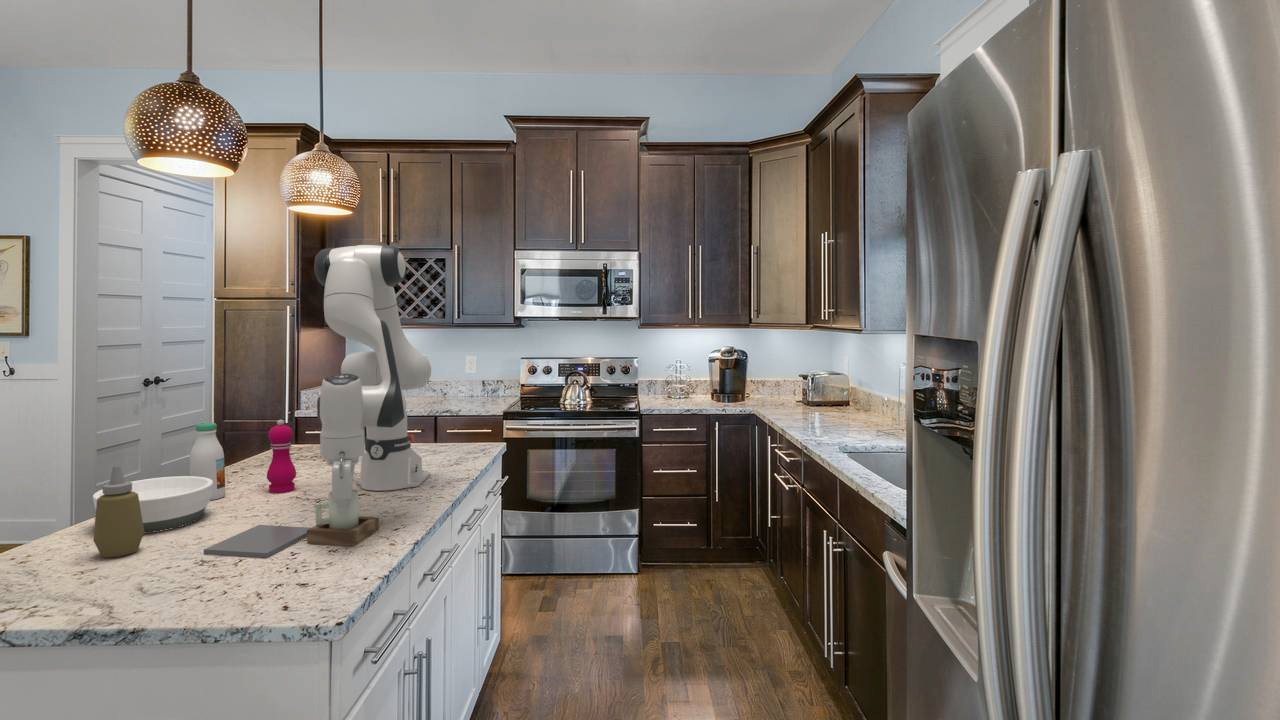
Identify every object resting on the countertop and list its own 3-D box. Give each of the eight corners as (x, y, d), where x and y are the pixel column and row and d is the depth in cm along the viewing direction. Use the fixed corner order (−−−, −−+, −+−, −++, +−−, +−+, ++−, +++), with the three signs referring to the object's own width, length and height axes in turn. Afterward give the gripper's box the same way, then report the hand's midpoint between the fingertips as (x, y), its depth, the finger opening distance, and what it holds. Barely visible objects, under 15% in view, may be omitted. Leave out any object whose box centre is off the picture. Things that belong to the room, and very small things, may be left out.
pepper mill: (287, 494, 175) (285, 421, 174) (261, 493, 175) (259, 421, 174) (301, 487, 182) (300, 417, 181) (276, 486, 182) (275, 417, 181)
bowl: (71, 542, 136) (70, 504, 136) (123, 511, 158) (122, 478, 157) (193, 533, 143) (192, 497, 142) (227, 505, 164) (226, 473, 164)
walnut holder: (336, 528, 147) (335, 515, 147) (378, 530, 146) (378, 517, 146) (307, 543, 137) (306, 530, 137) (352, 546, 136) (352, 532, 136)
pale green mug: (359, 531, 145) (358, 488, 145) (358, 539, 140) (358, 494, 139) (317, 535, 142) (316, 491, 142) (315, 544, 137) (314, 498, 136)
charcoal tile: (259, 528, 146) (259, 524, 146) (316, 532, 144) (316, 527, 144) (203, 554, 130) (203, 549, 130) (266, 558, 129) (266, 553, 129)
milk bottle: (208, 502, 166) (205, 426, 165) (183, 500, 168) (180, 425, 166) (232, 495, 174) (230, 422, 172) (208, 493, 175) (206, 421, 174)
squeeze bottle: (102, 549, 132) (99, 463, 131) (150, 544, 136) (147, 460, 134) (87, 563, 125) (83, 472, 124) (137, 557, 128) (134, 469, 127)
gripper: (357, 456, 132) (358, 522, 133) (358, 439, 151) (359, 496, 152) (323, 458, 130) (325, 525, 130) (329, 440, 148) (330, 499, 149)
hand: (343, 509), depth 141 cm, fingers closed on pale green mug, 6 cm apart
